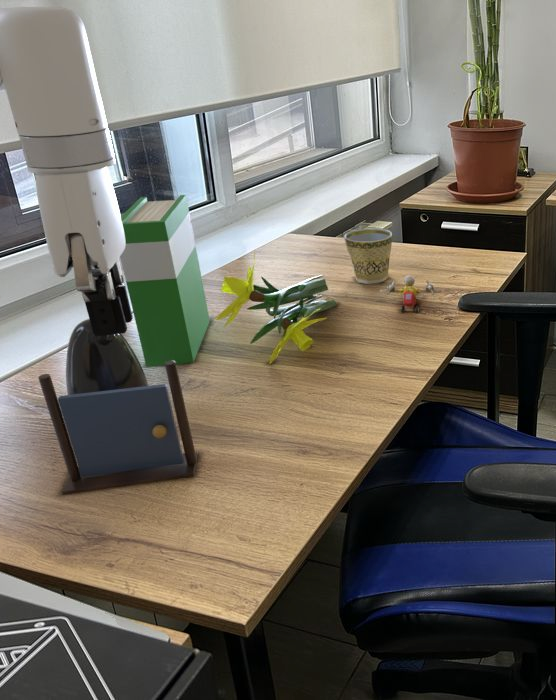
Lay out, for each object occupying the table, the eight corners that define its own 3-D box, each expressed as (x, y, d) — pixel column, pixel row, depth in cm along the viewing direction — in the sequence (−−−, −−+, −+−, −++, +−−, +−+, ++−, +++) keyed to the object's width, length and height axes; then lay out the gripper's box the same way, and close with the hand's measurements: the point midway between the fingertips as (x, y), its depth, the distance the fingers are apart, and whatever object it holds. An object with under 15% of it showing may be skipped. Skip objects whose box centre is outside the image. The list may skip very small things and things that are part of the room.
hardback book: (168, 325, 131) (140, 197, 121) (210, 322, 132) (186, 194, 122) (146, 368, 115) (112, 224, 105) (194, 364, 116) (164, 221, 106)
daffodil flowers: (375, 311, 138) (318, 340, 104) (314, 348, 141) (239, 389, 106) (329, 236, 136) (255, 241, 102) (268, 275, 139) (177, 293, 105)
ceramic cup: (376, 291, 145) (373, 244, 141) (338, 283, 150) (334, 237, 146) (411, 272, 156) (409, 228, 151) (375, 265, 160) (372, 222, 156)
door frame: (63, 497, 85) (27, 387, 78) (74, 473, 89) (41, 367, 83) (196, 478, 88) (172, 371, 81) (200, 456, 92) (178, 353, 86)
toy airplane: (408, 318, 132) (406, 286, 129) (378, 306, 138) (376, 274, 135) (444, 305, 138) (443, 274, 135) (414, 293, 144) (413, 263, 141)
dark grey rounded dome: (100, 445, 95) (71, 342, 88) (63, 421, 101) (33, 323, 94) (169, 413, 102) (146, 316, 96) (130, 393, 108) (107, 300, 101)
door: (78, 485, 85) (53, 405, 80) (83, 473, 87) (59, 395, 82) (181, 470, 87) (163, 393, 82) (183, 460, 89) (166, 383, 85)
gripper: (51, 139, 73) (94, 304, 81) (-5, 169, 59) (54, 365, 67) (128, 136, 75) (163, 298, 83) (91, 164, 61) (137, 356, 69)
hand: (113, 326), depth 75 cm, fingers closed
